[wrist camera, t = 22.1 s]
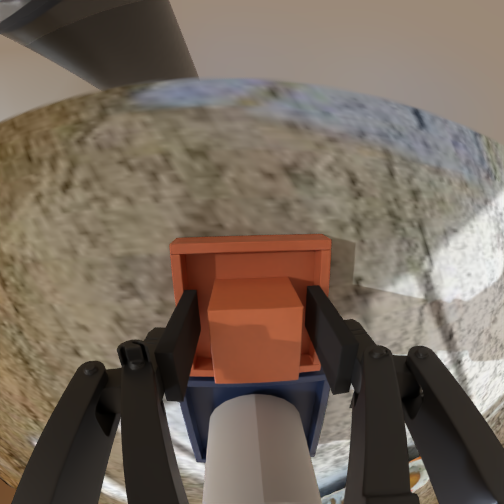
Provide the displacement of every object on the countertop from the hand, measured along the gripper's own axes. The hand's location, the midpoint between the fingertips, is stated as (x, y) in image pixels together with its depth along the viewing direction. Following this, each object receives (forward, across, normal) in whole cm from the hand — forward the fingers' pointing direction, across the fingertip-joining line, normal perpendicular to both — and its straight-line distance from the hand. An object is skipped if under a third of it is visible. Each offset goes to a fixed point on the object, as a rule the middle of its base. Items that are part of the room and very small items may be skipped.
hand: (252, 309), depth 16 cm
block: (+1, 0, -1) cm, 2 cm away
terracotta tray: (+2, 0, 0) cm, 2 cm away
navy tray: (+2, 0, -11) cm, 11 cm away
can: (+1, 0, -11) cm, 11 cm away
